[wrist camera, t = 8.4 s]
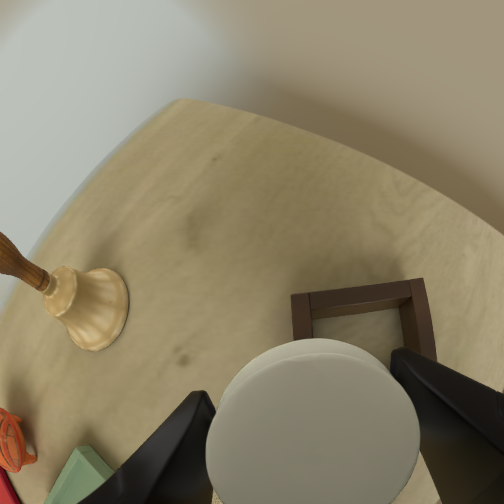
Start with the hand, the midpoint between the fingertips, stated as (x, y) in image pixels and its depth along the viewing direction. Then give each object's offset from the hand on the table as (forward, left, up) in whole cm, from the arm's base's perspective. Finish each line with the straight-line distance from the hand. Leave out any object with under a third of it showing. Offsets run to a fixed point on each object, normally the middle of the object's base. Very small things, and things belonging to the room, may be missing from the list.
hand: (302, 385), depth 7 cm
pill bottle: (-1, +1, -7) cm, 7 cm away
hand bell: (+16, +11, -13) cm, 23 cm away
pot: (+10, +31, -13) cm, 35 cm away
